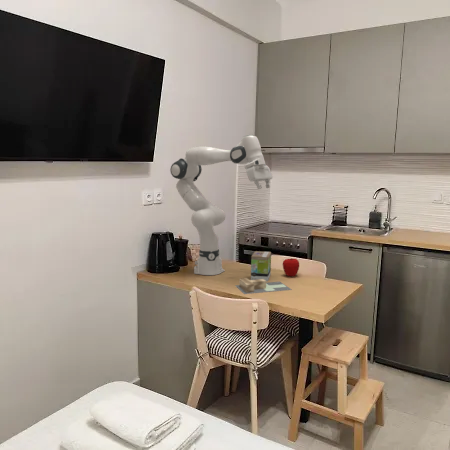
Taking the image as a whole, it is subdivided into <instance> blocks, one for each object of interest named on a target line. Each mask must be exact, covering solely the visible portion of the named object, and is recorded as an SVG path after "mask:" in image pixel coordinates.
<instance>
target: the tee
mask: <svg viewBox="0 0 450 450" xmlns="http://www.w3.org/2000/svg"><path fill="white" fill-rule="evenodd" d="M266 283H267V281H266V280H264V279H257V280H251V279H249V278H247V277H246V278H245V277H243V278H239V284H238V285H239V286H240V287H241V288H242V289H243V290H244V291H245V292H247V293H248V292H254V289H265V288H266Z"/></svg>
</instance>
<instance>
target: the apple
mask: <svg viewBox="0 0 450 450" xmlns="http://www.w3.org/2000/svg"><path fill="white" fill-rule="evenodd" d="M282 269H283V272H284V274H285V275H286V276H287V277H296V275H297V274H298V272H299V269H300V261H299V260H298V259H297V258H292V257H291V258H286V259H284V260H283V262H282Z"/></svg>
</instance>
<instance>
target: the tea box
mask: <svg viewBox="0 0 450 450" xmlns="http://www.w3.org/2000/svg"><path fill="white" fill-rule="evenodd" d="M250 258H251V260H250V261H251V262H250V280H257V279H264V280H266V282H269V280H270V277H271V276H272V275H271V274H272V273H271V271H272V270H271V269H272V268H271V267H272V252H271V251H260V250H259V251H257V250H256V251H253V254H252V255H251V257H250Z"/></svg>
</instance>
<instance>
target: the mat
mask: <svg viewBox="0 0 450 450" xmlns="http://www.w3.org/2000/svg"><path fill="white" fill-rule="evenodd" d="M234 286H235V288H237V289H238V290H239V291H240V292H241V293H242V294H244V295H250V294H251V295H252V294H259V293H261V294H262V293H271V292H281V291H282V292H283V291H292V289H291V288H290V286H287V285H286V284H285V283H283V282H281V281H270V282H269V281H267V282H266V288H265V289H254V292H248V293H247V292H245V291H244V290H243V289H242V288H241V287H240V286H239V284H237V285H234Z"/></svg>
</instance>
